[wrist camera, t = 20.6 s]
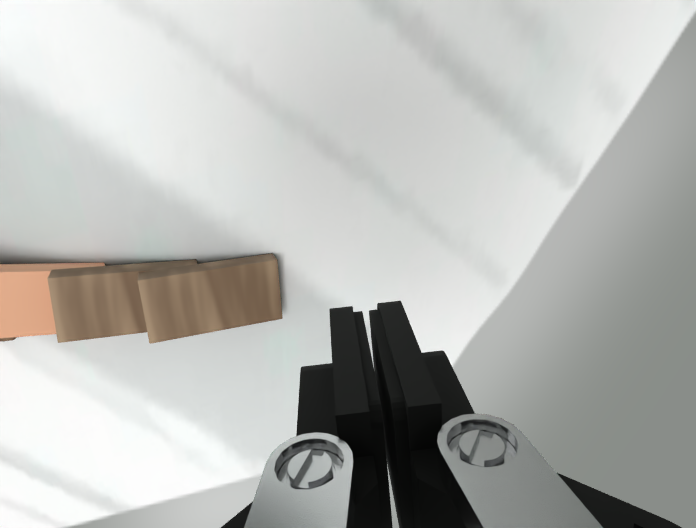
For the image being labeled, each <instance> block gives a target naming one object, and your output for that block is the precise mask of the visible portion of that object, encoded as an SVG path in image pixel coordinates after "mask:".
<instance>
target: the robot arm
mask: <svg viewBox="0 0 696 528" xmlns="http://www.w3.org/2000/svg"><path fill="white" fill-rule="evenodd" d="M369 316H370V328H371V339H372V350H373V361H374V367H373V363H372V358H371V353H370V348H369V343H368V338H367V333H366V328H365V323H364V318H363V313H362V311H360V312H353V307H352V306H350V307H342V308H333V309H330V327H331V346H332V363H330V364H321V365H313V366H304V367H301V373H300V389H299V404H298V420H297V436H296V437H293V438H290V439H289V440H287V441H285V442H284V443H282V444H280V445H279V446H278V447H277V448H276V449H275V450H274V451H273V452H272V453H271V455H270V457H269V459H268V460H267V462H266V465H265V468H264V471H263V474H262V477H261V480H260V483H259V485H258V489H257V491H256V494H255V497H254V500H253V502H252V503H250V504H249V505H248V506H247V507H246V508H245V509H243V510H242V511H241V512H239V513H238V514H237V515H236V516H235V517H233V518H232V519H231V520H230V521H229V522H227V523H226V524H225V525H224V526H222V527H221V528H392V516H391V505H390V493H389V482H388V471H387V464H388V469H389V475H390V479H391V485H392V490H393V495H394V501H395V507H396V512H397V517H398V523H399V528H681V527H680V526H678V525H676V524H674V523H672V522H670V521H668V520H666V519H664V518H661V517H659V516H657V515H654V514H652V513H649V512H647V511H645V510H643V509H640V508H638V507H636V506H633V505H631V504H629V503H626V502H624V501H621V500H619V499H617V498H615V497H612V496H609V495H608V494H605V493H603V492H601V491H598V490H596V489H594V488H591V487H589V486H587V485H584V484H582V483H580V482H577V481H575V480H572V479H570V478H568V477H566V476H563V475H561V474H558V473H556V472H555V471H554V469H553V468H552V467H551V466H550V465H549V464H548V462H547V461H546V460H545V459H544V457H543V456H542V455H541V454H540V453H539V452H538V450H537V449H536V448H535V447H534V446H533V445H532V444H531V442H530V441H529V440H528V439H527V437H526V436H525V435H524V434H523V433H522V432H521V431H520V430H519V429H518V428H517V427H515V426H514V425H513V424H511V423H510V422H508V421H506V420H504V419H502V418H499V417H495V416H492V415H487V414H476V413H474V411H473V409H472V407H471V405H470V403H469V401H468V399H467V397H466V395H465V392H464V390H463V388H462V386H461V384H460V382H459V380H458V378H457V376H456V374H455V372H454V370H453V368H452V366H451V364H450V362H449V360H448V358H447V356H446V354H445V352H444V351H434V352H425V353H421V350H420V348H419V345H418V343H417V340H416V338H415V335H414V333H413V330H412V328H411V325H410V323H409V320H408V318H407V315H406V313H405V310H404V308H403V305H402V303H401V301H394V302H386V303H378V304H377V310H369Z"/></svg>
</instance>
